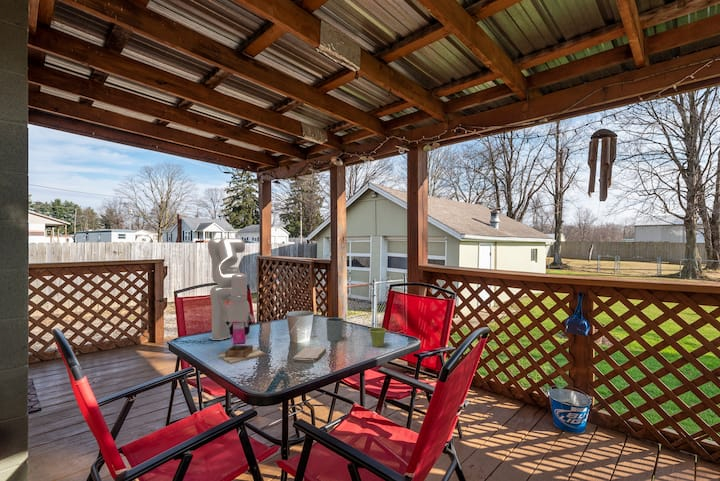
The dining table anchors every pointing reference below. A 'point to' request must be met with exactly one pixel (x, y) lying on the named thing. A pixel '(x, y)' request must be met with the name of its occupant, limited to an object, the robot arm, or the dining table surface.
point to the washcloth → (309, 355)
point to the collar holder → (240, 353)
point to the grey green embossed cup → (334, 329)
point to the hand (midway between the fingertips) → (239, 334)
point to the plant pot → (377, 336)
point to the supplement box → (239, 333)
